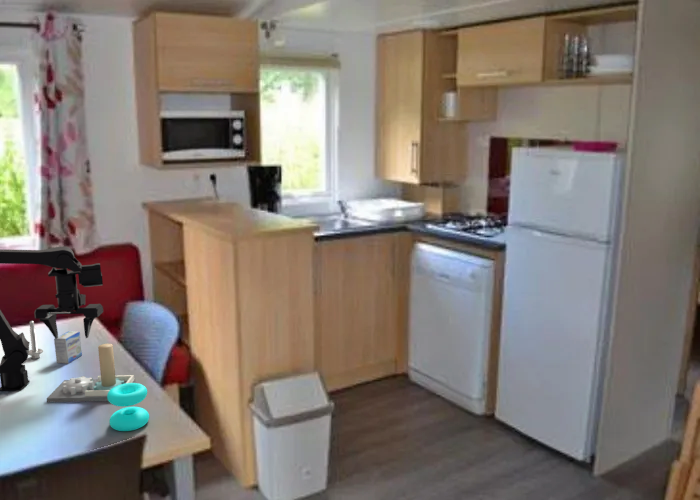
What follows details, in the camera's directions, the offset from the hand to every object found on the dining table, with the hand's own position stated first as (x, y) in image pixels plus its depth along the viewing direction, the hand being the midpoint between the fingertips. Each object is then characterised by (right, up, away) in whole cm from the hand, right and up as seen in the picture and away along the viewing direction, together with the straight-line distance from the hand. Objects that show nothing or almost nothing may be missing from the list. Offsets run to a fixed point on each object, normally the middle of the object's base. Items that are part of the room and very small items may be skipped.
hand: (71, 337), depth 202 cm
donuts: (+27, -19, -28) cm, 43 cm away
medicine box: (-8, -10, +18) cm, 22 cm away
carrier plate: (+9, -15, -8) cm, 19 cm away
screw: (-21, -9, +20) cm, 30 cm away
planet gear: (+14, -14, -8) cm, 21 cm away
